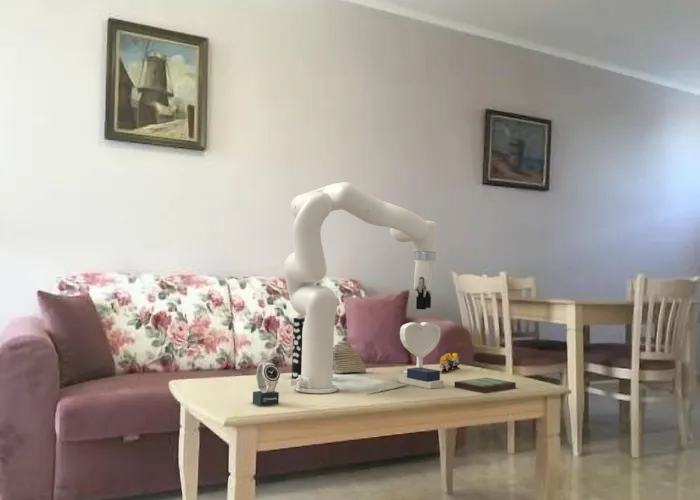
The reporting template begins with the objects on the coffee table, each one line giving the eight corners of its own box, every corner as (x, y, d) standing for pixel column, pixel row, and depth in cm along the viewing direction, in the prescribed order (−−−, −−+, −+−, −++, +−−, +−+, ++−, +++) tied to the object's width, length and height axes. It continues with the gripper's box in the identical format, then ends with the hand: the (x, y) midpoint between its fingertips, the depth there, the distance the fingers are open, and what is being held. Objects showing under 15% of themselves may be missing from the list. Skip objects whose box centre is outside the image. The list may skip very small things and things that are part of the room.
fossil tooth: (367, 376, 241) (328, 374, 235) (360, 373, 247) (322, 370, 241) (371, 344, 241) (332, 341, 235) (364, 342, 247) (326, 338, 241)
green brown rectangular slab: (484, 393, 207) (484, 386, 207) (454, 387, 217) (454, 380, 217) (515, 388, 218) (515, 381, 218) (486, 382, 227) (486, 376, 227)
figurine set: (436, 372, 246) (436, 354, 246) (452, 367, 260) (452, 350, 261) (445, 373, 245) (445, 355, 245) (461, 368, 259) (461, 351, 259)
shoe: (443, 387, 216) (443, 371, 216) (430, 388, 212) (430, 372, 212) (412, 380, 227) (412, 365, 227) (399, 382, 223) (399, 367, 223)
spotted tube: (315, 380, 222) (317, 319, 223) (290, 379, 222) (292, 319, 223) (317, 376, 231) (319, 317, 231) (293, 375, 231) (294, 317, 231)
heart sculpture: (404, 373, 242) (406, 323, 243) (397, 371, 246) (398, 322, 247) (441, 371, 249) (442, 322, 250) (433, 369, 253) (434, 321, 254)
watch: (263, 407, 177) (265, 365, 178) (249, 402, 184) (250, 361, 184) (282, 405, 181) (283, 364, 181) (267, 400, 187) (269, 360, 188)
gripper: (418, 257, 237) (417, 306, 236) (408, 256, 220) (407, 309, 219) (439, 258, 234) (438, 307, 234) (431, 257, 218) (430, 310, 217)
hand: (423, 308), depth 227 cm, fingers open, 9 cm apart
